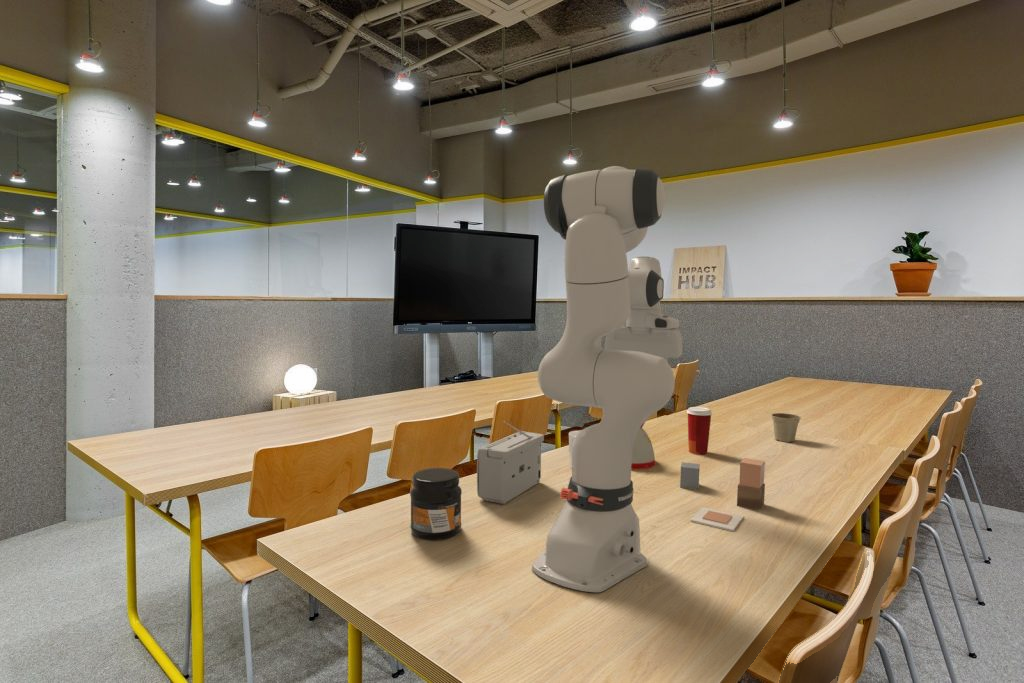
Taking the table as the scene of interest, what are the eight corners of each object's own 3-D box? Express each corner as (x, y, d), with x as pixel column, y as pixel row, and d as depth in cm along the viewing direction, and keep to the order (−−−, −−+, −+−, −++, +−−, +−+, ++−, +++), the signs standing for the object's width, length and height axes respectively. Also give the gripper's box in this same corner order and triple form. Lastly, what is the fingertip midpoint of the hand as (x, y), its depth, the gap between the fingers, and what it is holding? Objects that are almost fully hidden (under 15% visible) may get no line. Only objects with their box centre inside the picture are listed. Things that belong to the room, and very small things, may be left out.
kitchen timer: (646, 472, 157) (648, 419, 156) (600, 464, 164) (601, 414, 163) (659, 459, 169) (661, 411, 168) (616, 453, 176) (617, 406, 175)
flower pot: (805, 443, 190) (806, 418, 189) (777, 443, 190) (778, 418, 189) (791, 437, 199) (793, 413, 199) (765, 436, 199) (766, 412, 199)
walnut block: (759, 510, 129) (760, 489, 129) (736, 505, 132) (737, 485, 132) (764, 504, 133) (764, 483, 133) (742, 499, 136) (742, 479, 136)
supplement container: (441, 546, 109) (441, 486, 108) (399, 534, 114) (399, 477, 113) (471, 527, 118) (471, 471, 117) (431, 517, 123) (431, 464, 122)
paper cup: (713, 451, 179) (714, 408, 178) (707, 456, 173) (709, 412, 172) (688, 447, 184) (690, 405, 182) (681, 452, 177) (683, 409, 176)
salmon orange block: (759, 488, 129) (760, 465, 129) (739, 485, 132) (740, 462, 131) (763, 483, 133) (764, 461, 132) (743, 480, 135) (744, 457, 135)
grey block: (698, 489, 143) (699, 468, 143) (680, 487, 144) (680, 466, 144) (698, 484, 147) (699, 464, 147) (681, 482, 149) (681, 462, 148)
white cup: (594, 472, 156) (595, 437, 155) (566, 470, 157) (567, 436, 157) (596, 464, 164) (597, 431, 163) (569, 462, 165) (570, 429, 164)
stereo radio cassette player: (518, 477, 152) (518, 404, 150) (545, 482, 147) (546, 407, 146) (475, 501, 133) (475, 418, 132) (504, 507, 129) (505, 422, 128)
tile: (733, 531, 117) (733, 528, 117) (690, 521, 122) (690, 518, 122) (743, 517, 125) (743, 514, 125) (702, 508, 130) (702, 506, 130)
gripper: (601, 319, 149) (600, 371, 150) (677, 322, 137) (675, 377, 138) (611, 319, 154) (610, 368, 155) (685, 321, 142) (683, 375, 143)
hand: (641, 373), depth 146 cm, fingers open, 8 cm apart
